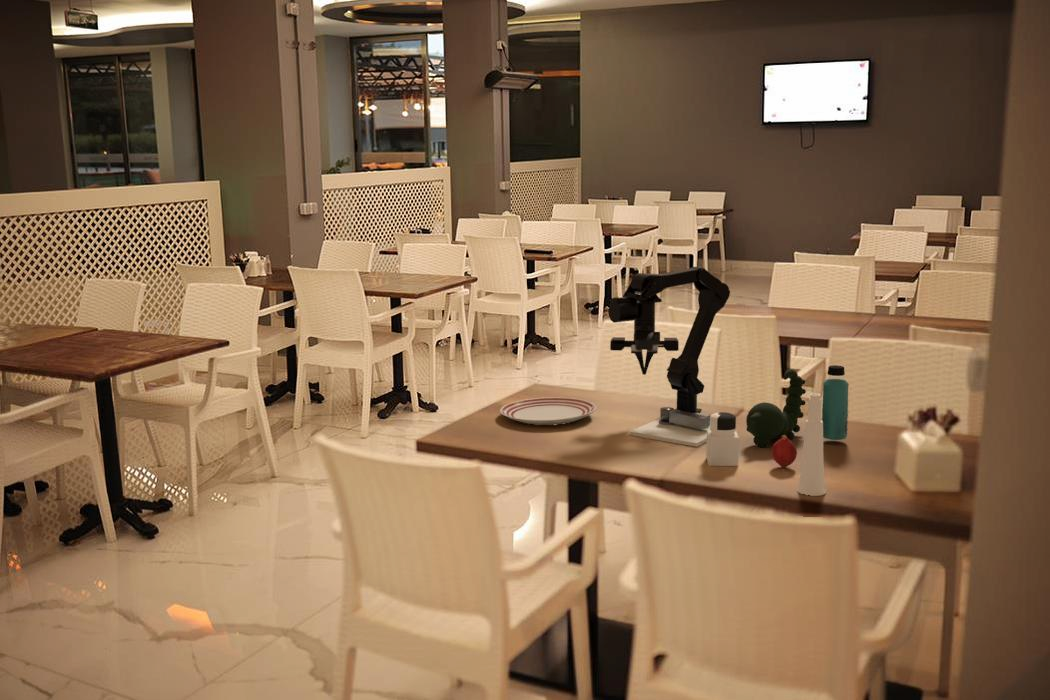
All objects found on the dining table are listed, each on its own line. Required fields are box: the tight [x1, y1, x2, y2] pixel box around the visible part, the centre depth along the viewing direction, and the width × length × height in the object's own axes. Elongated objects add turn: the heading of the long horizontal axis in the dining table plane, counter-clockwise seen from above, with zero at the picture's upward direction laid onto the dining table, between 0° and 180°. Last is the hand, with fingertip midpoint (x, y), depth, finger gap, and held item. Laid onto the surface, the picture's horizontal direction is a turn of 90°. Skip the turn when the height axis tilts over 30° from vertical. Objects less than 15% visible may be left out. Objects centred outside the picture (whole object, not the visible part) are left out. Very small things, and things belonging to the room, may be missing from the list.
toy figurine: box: [745, 368, 807, 448], centre depth 260 cm, size 9×19×25 cm
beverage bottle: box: [821, 365, 850, 441], centre depth 258 cm, size 6×7×20 cm
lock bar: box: [659, 406, 709, 430], centre depth 273 cm, size 15×4×3 cm, turn 43°
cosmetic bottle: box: [796, 393, 827, 497], centre depth 221 cm, size 6×6×22 cm
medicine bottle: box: [705, 411, 740, 467], centre depth 244 cm, size 7×7×12 cm
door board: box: [629, 412, 711, 448], centre depth 271 cm, size 18×20×4 cm
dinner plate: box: [499, 396, 597, 426], centre depth 289 cm, size 27×27×3 cm
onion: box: [770, 435, 798, 469], centre depth 239 cm, size 6×6×8 cm
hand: (644, 374), depth 283 cm, fingers closed
